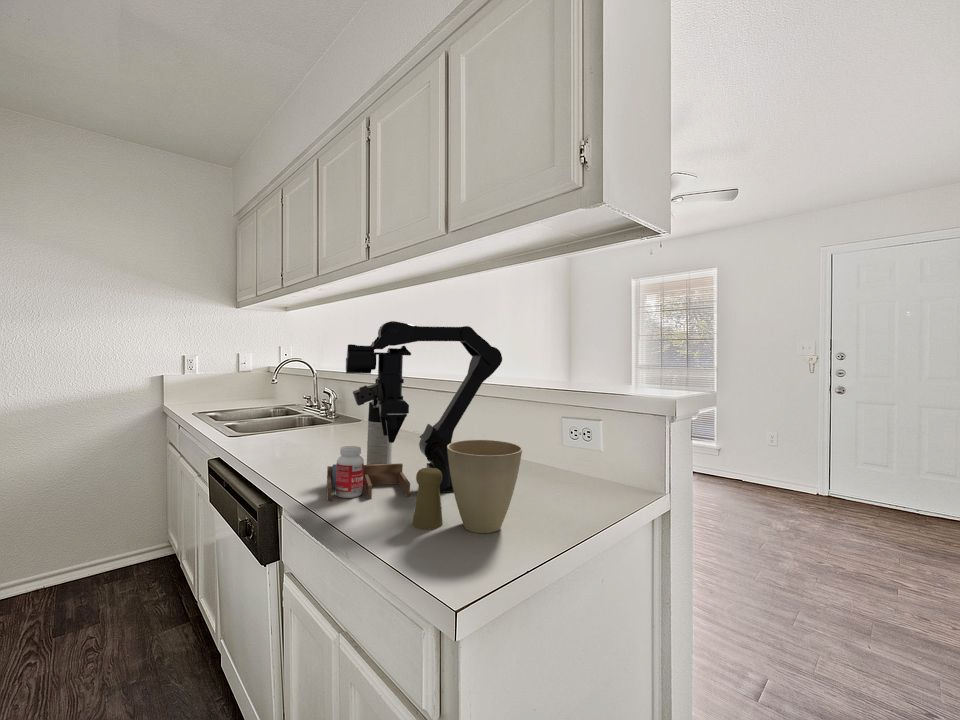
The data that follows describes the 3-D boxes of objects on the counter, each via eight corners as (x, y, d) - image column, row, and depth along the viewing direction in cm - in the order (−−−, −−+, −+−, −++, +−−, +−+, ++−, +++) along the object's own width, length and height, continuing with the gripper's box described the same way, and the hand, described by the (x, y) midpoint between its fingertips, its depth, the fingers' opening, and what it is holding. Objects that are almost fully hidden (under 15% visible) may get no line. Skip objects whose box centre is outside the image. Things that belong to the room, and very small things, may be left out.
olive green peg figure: (437, 531, 88) (439, 473, 88) (407, 527, 89) (409, 470, 89) (446, 520, 94) (448, 466, 94) (418, 516, 95) (420, 463, 95)
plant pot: (459, 509, 101) (462, 437, 101) (526, 519, 96) (529, 443, 96) (431, 534, 87) (434, 449, 86) (508, 547, 82) (511, 458, 82)
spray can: (396, 474, 127) (398, 402, 127) (378, 479, 121) (381, 404, 121) (378, 470, 131) (381, 400, 130) (360, 475, 125) (363, 401, 125)
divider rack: (401, 482, 120) (402, 461, 120) (409, 496, 109) (410, 472, 109) (326, 486, 114) (327, 463, 113) (327, 501, 103) (328, 476, 103)
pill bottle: (353, 500, 104) (354, 451, 104) (329, 496, 106) (331, 448, 106) (367, 492, 110) (369, 446, 110) (345, 489, 112) (346, 444, 112)
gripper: (352, 371, 117) (351, 433, 117) (358, 375, 99) (356, 448, 99) (396, 372, 120) (395, 431, 121) (410, 376, 103) (408, 446, 103)
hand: (388, 438), depth 111 cm, fingers open, 9 cm apart
